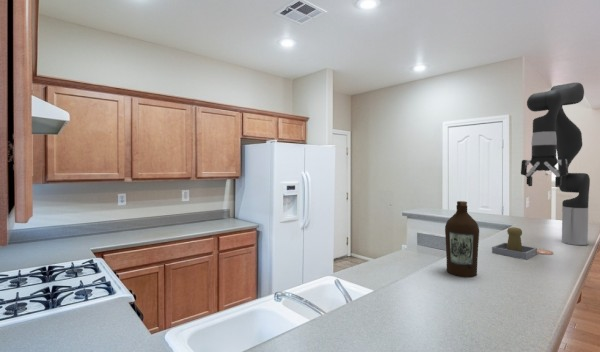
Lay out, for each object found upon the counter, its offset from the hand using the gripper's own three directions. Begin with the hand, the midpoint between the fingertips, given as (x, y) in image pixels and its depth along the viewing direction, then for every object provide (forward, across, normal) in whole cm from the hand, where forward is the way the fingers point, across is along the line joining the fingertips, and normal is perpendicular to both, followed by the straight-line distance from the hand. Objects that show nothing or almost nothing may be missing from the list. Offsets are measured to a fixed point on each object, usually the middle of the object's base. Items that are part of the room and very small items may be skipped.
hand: (543, 186), depth 120 cm
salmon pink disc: (+29, +4, -15) cm, 33 cm away
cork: (+29, +11, -4) cm, 31 cm away
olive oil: (+29, +13, +37) cm, 49 cm away
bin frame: (+29, +11, -4) cm, 31 cm away
